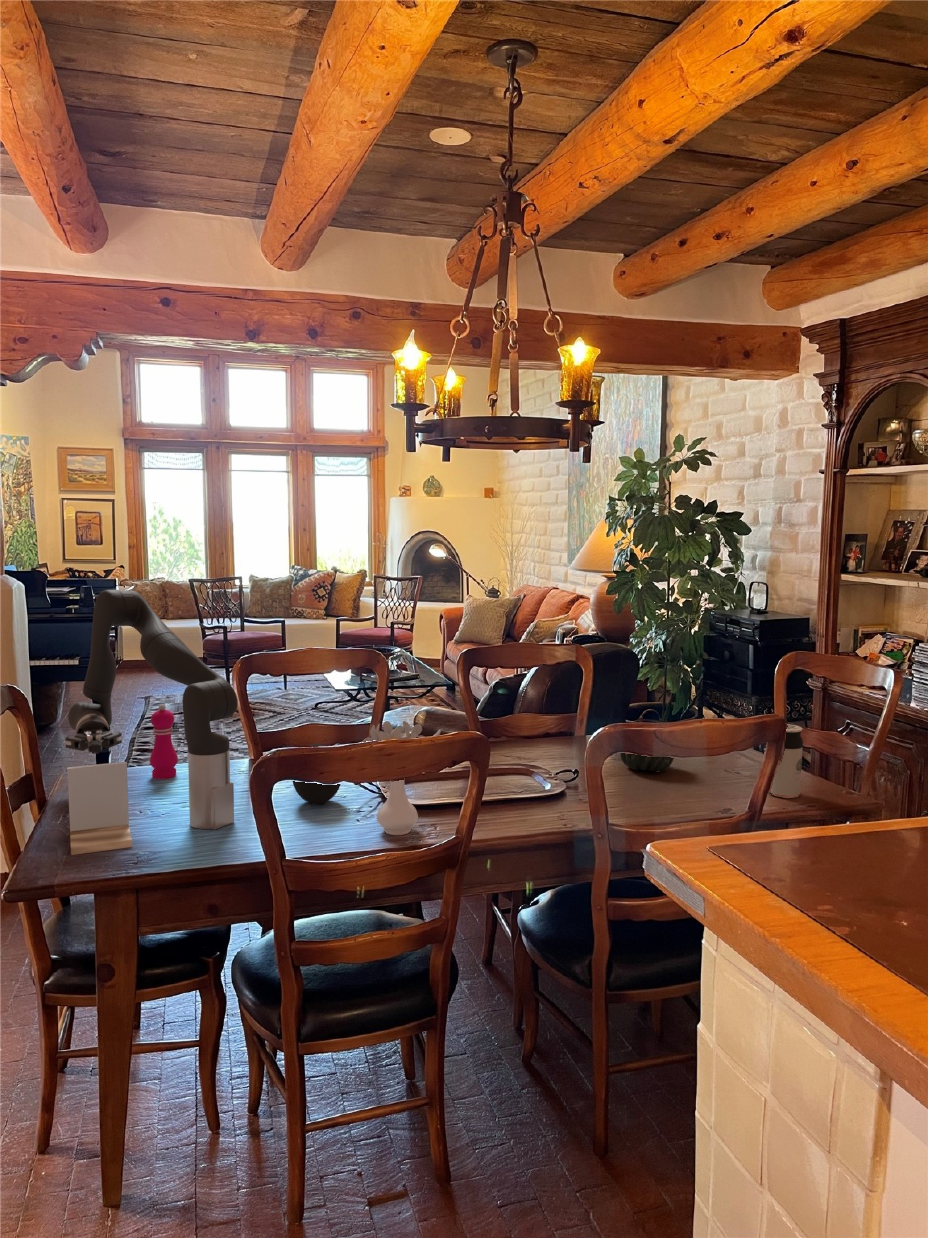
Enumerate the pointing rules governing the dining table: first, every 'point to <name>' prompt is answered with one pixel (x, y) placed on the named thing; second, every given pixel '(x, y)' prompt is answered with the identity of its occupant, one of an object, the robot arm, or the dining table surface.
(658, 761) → the squash
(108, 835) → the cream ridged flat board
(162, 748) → the pepper mill
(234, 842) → the dining table surface
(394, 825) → the flower vase
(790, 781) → the travel mug
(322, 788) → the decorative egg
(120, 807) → the white flat rectangular panel
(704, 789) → the dining table surface
